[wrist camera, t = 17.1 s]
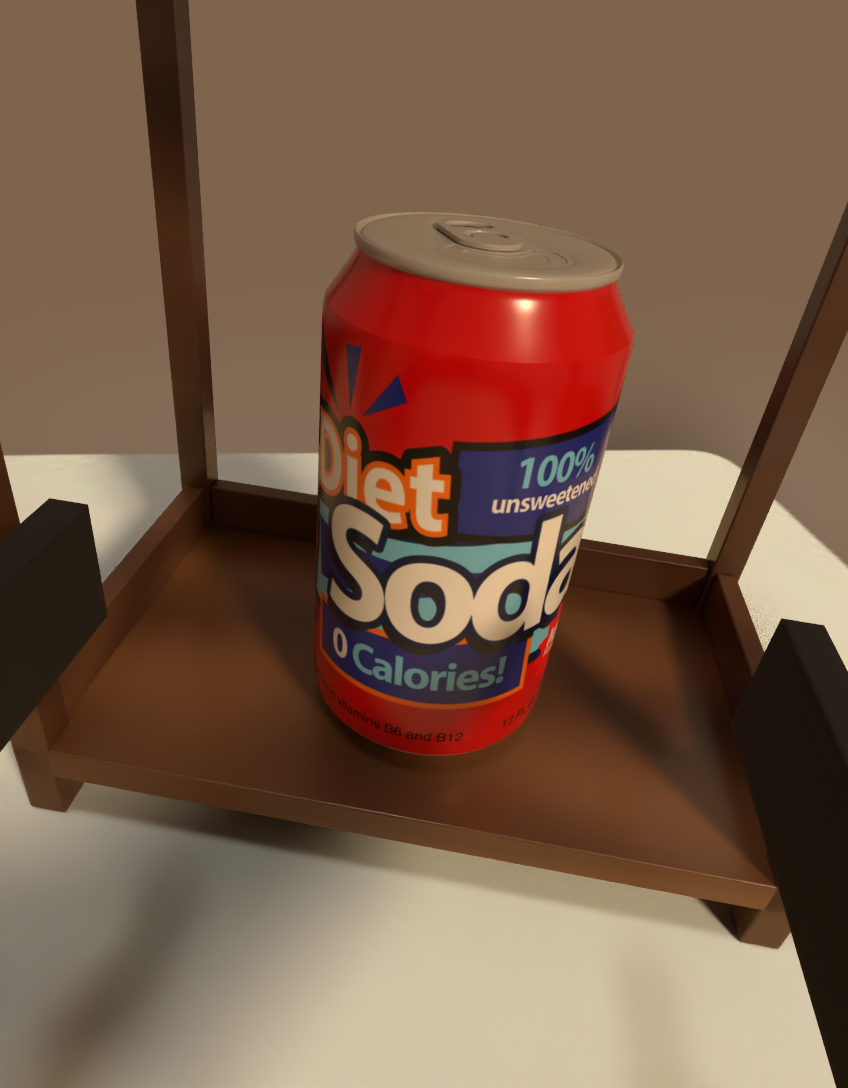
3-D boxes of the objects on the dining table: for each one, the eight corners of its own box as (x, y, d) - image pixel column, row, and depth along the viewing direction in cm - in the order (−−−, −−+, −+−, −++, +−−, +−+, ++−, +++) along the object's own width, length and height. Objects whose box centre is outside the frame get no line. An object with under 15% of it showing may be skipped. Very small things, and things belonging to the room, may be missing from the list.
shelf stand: (778, 950, 22) (2219, -993, 6) (30, 806, 23) (-583, -1103, 7) (697, 647, 34) (1090, -278, 17) (199, 562, 35) (121, -371, 19)
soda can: (486, 602, 30) (562, 211, 22) (572, 751, 24) (726, 287, 15) (295, 625, 28) (298, 195, 19) (338, 797, 21) (369, 278, 13)
